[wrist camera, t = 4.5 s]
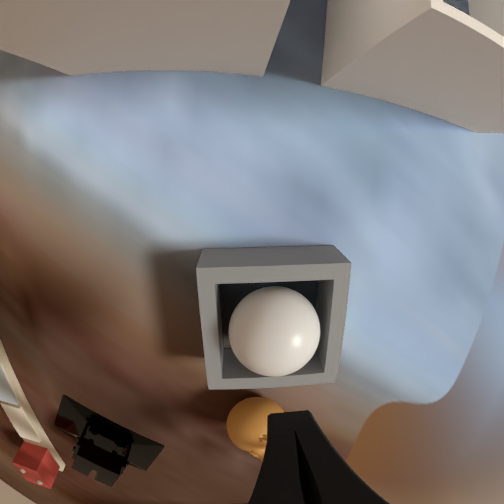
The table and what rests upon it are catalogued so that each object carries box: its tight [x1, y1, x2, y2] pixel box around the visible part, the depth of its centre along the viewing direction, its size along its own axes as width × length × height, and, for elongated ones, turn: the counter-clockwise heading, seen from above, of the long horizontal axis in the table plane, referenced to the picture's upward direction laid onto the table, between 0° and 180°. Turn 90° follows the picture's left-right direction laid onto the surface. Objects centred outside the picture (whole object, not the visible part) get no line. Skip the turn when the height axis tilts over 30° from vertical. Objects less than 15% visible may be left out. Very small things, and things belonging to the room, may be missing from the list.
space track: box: [0, 339, 65, 489], centre depth 18 cm, size 20×4×4 cm, turn 1°
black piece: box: [54, 395, 164, 487], centre depth 20 cm, size 12×7×5 cm, turn 58°
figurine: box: [227, 397, 284, 462], centre depth 15 cm, size 8×6×12 cm
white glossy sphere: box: [229, 286, 320, 377], centre depth 16 cm, size 5×5×5 cm
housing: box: [196, 245, 351, 390], centre depth 17 cm, size 7×7×3 cm
